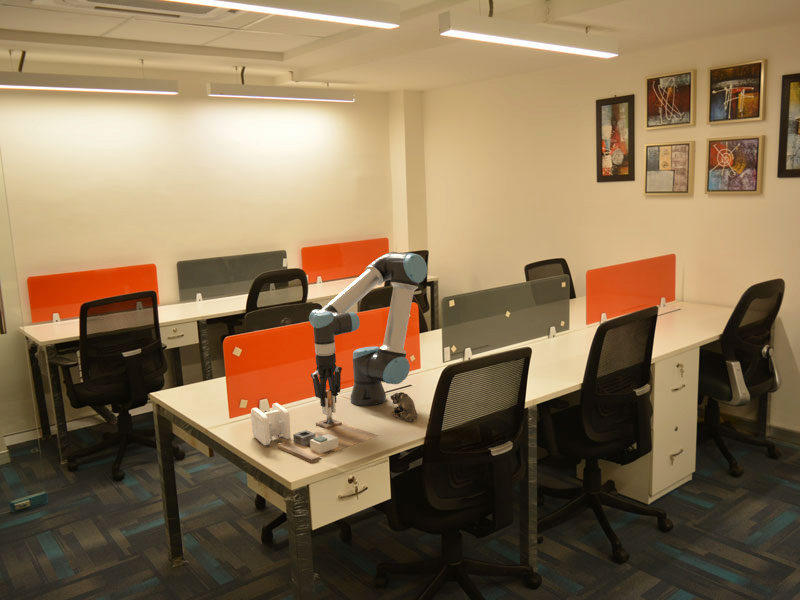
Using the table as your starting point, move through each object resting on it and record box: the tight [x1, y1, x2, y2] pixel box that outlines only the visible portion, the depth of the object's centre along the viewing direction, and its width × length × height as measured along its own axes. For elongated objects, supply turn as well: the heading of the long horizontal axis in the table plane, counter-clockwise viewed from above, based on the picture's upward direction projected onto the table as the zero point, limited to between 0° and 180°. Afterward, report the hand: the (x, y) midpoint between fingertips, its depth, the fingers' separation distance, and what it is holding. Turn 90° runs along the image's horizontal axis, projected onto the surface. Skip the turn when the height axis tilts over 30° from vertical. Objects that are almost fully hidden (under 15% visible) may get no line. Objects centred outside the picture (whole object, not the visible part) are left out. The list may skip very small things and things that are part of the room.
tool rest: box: [315, 418, 343, 429], centre depth 263 cm, size 7×7×2 cm
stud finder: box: [310, 434, 338, 453], centre depth 239 cm, size 8×6×4 cm
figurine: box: [390, 391, 418, 422], centre depth 271 cm, size 6×14×10 cm, turn 29°
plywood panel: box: [277, 422, 379, 464], centre depth 247 cm, size 30×20×4 cm, turn 133°
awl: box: [325, 388, 333, 424], centre depth 262 cm, size 3×3×13 cm
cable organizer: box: [250, 402, 292, 446], centre depth 252 cm, size 15×11×12 cm
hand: (329, 412), depth 263 cm, fingers closed on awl, 3 cm apart
